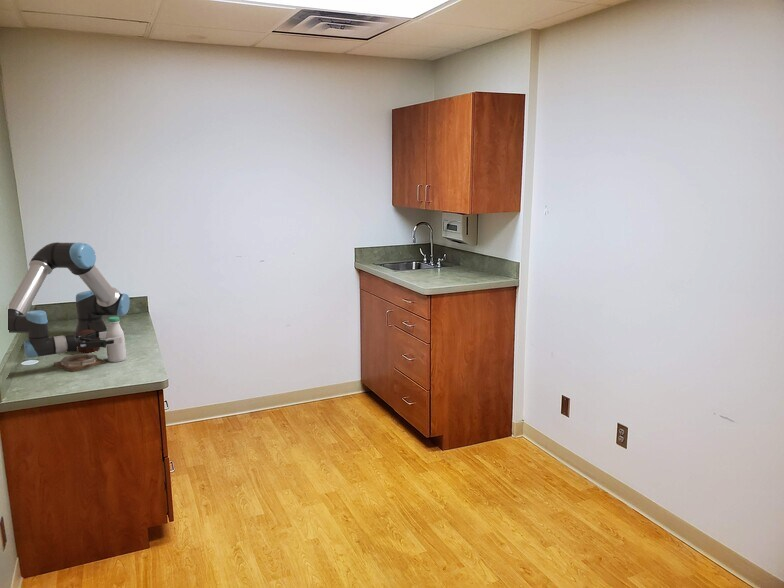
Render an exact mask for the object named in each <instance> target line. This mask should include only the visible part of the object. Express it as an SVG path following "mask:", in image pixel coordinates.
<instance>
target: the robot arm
mask: <svg viewBox="0 0 784 588" xmlns="http://www.w3.org/2000/svg"><path fill="white" fill-rule="evenodd" d="M96 261H97V256H96V251H95V249H94V248H93V247H92V245H90V244H88V243H84V242H51V243H48V244H46V245H44V246H43V247H42V248H41V249H39V250H38V251H37V252H36V253H35V254H34V255H33V256H32V257H31V259H30V261H29V262H28V266H29V268H28V269H27V271H26V273H25V275H24V277H23V279H22V280H21V282H20V284H19V286H18V287H17V289H16V292H15V293H14V294H13V296H12V298H11V299H10V302H9V303H8V305H9V309H8V330H9V333H11V334H12V333H13V334H14V333H15V334H27V337H28V339H27V340H24V341H23V350H24V355H25V357H26V358H39V357H44V356H45V357H46V356H51V355H61V354H64V353H66V352H67V353H73V352H77V350H78V346H81V348H94V347H100V348H106V349H107V345H112V344H119V343H122V339H121V337H117V338H110V339H106V333H107V330H108V328H107V326H106V324H105V322H104V320H103V316H104V317H105V316H107V317H108V316H109V317H123V316H125V315H127V314H128V311H129V310H130V305H131V304H130V302H131V300H130V296H129V294H127V293H121V292H120V291H119V290H118V289H117V288H116V287H112V286H111V285H110V283H109V282H108V280H107V279H106V278H105V277H104V276H103V274H102V273H101V271H100V270H99V269H98V268H97V267H96V265H95V264H96ZM58 268H59V269H62V268H63V269H68V270H69V271H70V273H71V274H73V275H75V276H78V277H79V278H80V279H81V281H82V282H83V283H84V284H85V285H86V286H87V287H88V289H89V290H86V291H82V292H77V293H76V295H75V308H76V316H77V317H76V318H77V323H76V326H75V327H76V328H75V330H74V334H72V333H71V334H65V335H58V336H50V333H49V332H50V331H49V324H48V323H49V321H48V315H47V312H46V311H45V310H41V309H40V310H31V311H28V310H29V309H30V307H31V306H32V303H33V301H34V300H35V298H36V296H37V294H38V292H39V290H40V289H41V288H42V285H43V283H44V282H45V280H46V278H47V275H51V274H52V272H53V270H55V269H58ZM83 330H94V331H96V332H92V333H88V334H84V335H80V336H77V335H78V334H79V333H80V332H81V331H83ZM97 338H100V340H94V339H97ZM104 338H105V339H104Z"/></svg>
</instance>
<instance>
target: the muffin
mask: <svg viewBox="0 0 784 588" xmlns="http://www.w3.org/2000/svg"><path fill="white" fill-rule="evenodd" d="M92 332H96V331H94V330H83V331H81V332H80V333H79V334H78V335H77V336H80V335H84V334H88V333H92ZM94 340H101V338H97V339H94ZM100 349H101V347H94V348H81V346H78V347H77V350H78V353H80V352H81V353H80V354H89V353H90V354H93V353H92V352H94V353H96V352H95V351H97V352H99V351H100Z"/></svg>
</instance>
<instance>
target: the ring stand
mask: <svg viewBox="0 0 784 588" xmlns="http://www.w3.org/2000/svg"><path fill="white" fill-rule="evenodd" d="M102 363H103V364H106V360H104V359H102V358H98V355H96V354H93V353H76V354H72V355H71V354H70V355H67V356H64V357H63V358H62V359H61V360H60V361H55V362H53V366H54V365H55V366H54V367H57V366H58V367H57V368H60V367H61V369H63V370H66V371H69V372H77V371H80V370H84V369H88V368H91V367H96V366H99V365H103V364H102Z"/></svg>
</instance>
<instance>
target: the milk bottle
mask: <svg viewBox="0 0 784 588" xmlns="http://www.w3.org/2000/svg"><path fill="white" fill-rule="evenodd" d="M107 320H108V322H107V323H108V328H107V333H106V338H105V339H110V338H117V337H121V339H122V343H119V344H112V345H106V351H107V352H106V354H107V360H108V362H110V363H119V362H123V361H125V360H126V359H127V349H126V339H125V334H124V333H125V332H124V331H123V329H122V327H121V325H120V316H109V317H108V318H107Z"/></svg>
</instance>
